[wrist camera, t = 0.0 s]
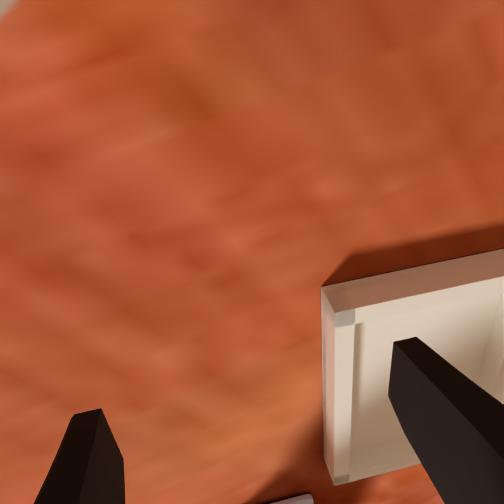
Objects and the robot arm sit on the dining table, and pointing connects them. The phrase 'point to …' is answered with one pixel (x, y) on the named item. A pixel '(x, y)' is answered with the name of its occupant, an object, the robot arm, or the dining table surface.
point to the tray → (381, 345)
